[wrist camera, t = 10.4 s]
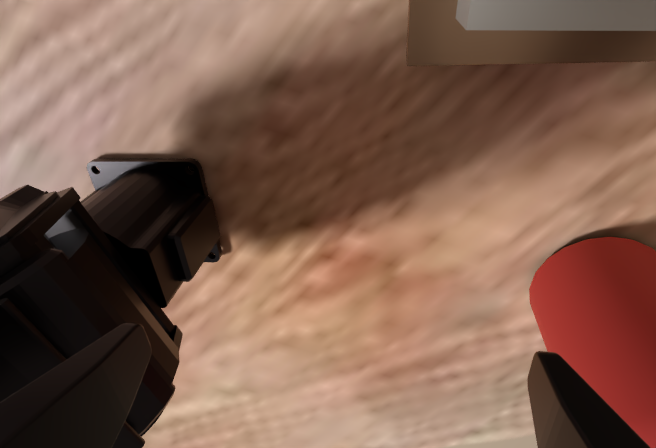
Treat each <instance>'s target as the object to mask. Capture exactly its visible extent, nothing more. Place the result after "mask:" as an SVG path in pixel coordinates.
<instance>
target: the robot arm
mask: <svg viewBox="0 0 656 448" xmlns="http://www.w3.org/2000/svg"><path fill="white" fill-rule="evenodd" d="M96 166H97V167H98V168H99V169H100V171H99V170H98V169H97V168H96ZM188 166H191V167H192V168H193V169H194V172H193V171H191V170H189V168H188ZM87 170H88V173H89V175H90V178H91V180H92V183H93V185H94V188H95V191H94V192H93V193H92V194H90V195H89V196H88V197H86V198H85V199H84V200H82V201H81V202H80V201H79V199H80V196H79V195H78V194H77V192H76V191H75V190H74V188H73V187H70V188H68V189H65V190H62V191H60V192H56V191H54V192H51V193H48V192H47V191H45V192H44V191H41V190H39V189H36V188H34V187H32V186H29V185H26V186H23V187H21V188H18V189H16V190H15V191H13V192H11V193H10V194H8V195H6V196H5V197H3V198H1V199H0V448H142V447H143V446H144V444H145V440H144V439H143V438H142V437H141V436H142V435H144V434H145V433H146V432H147V431H148V430H149V429H150V428H151V427H152V425H153V424H154V423H155V422H156V421H157V419H158V418H159V417H160V415H161V414H162V412H163V410H164V409H165V407H166V406H167V404H168V402H169V401H170V399H171V398H172V396H173V394H174V391H175V386H174V385H173V379H174V376H175V373H176V370H177V367H178V365H179V349H180V344H181V339H182V332H181V331H180V329H179V328H178V327H177V326H176V325H173V324H172V322H171V321H170V320H169V318H168V317H167V316H166V314H165V313H164V312H163V311H162V309H161V308H165V307H166V306H167V305H168V303H169V302H170V300H171V299H172V298H173V296H174V295H175V293H176V292H177V290H178V289H179V287H180V286H181V284H182V283H183V281H185V282H189V281H190V280H191V279H192V278H193V277H194V276H195V274H196V272H197V271H198V269H199V268H200V266H201V265H202V263H203V262H217V261H218V260H219V259H220V257H221V255H222V250H221V246H220V242H219V238H220V231H219V227H218V223H217V219H216V214H215V210H214V206H213V202H212V199H211V198H210V197H209V196H208V192H207V188H206V183H205V179H204V175H203V171H202V167H201V165H200V163H199V162H198V161H196V160H195V159H94V160H92V161H91V162H89V163H88V164H87ZM211 252H213V253H214V254H215V255H213V254H211ZM528 391H529V397H530V403H531V409H532V415H533V421H534V427H535V433H536V439H537V445H538V448H650V446H649V445H648V444H647V443H646V442H645V441H644V440H643V439H642V438H641V437H640V436H639V435H638V434H637V433H636V432H635V431H634V430H633V429H632V428H631V427H630V426H629V425H628V424H627V423H626V422H625V421H624V420H623V419H622V418H621V417H620V416H619V415H618V414H617V413H616V412H615V411H614V410H613V409H612V408H611V407H610V406H609V405H608V404H607V403H606V402H605V401H604V400H603V399H602V398H601V397H600V396H599V395H598V394H597V392H596V391H595V390H594V389H593V388H592V387H591V386H590V385H589V384H588V383H587V382H586V381H585V380H584V379H583V378H582V377H581V376H580V375H579V374H578V373H577V372H576V371H575V370H574V369H573V368H572V367H571V366H570V365H569V364H568V363H567V362H566V361H565V360H564V359H563V358H562V357H561V356H560V355H559V354H557V353H555V352H543V351H538V352H536V353H535V354H534V357H533V360H532V364H531V368H530V371H529V375H528Z"/></svg>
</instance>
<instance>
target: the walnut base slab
mask: <svg viewBox="0 0 656 448" xmlns="http://www.w3.org/2000/svg"><path fill="white" fill-rule="evenodd" d="M457 3H458V0H409V12H408V34H407V66H438V65H488V64H539V63H590V62H641V61H656V31H547V30H466V29H465V28H464V27H463V26H462V25H461V24H460V23H459V22H458V21H457V20H456V11H457Z"/></svg>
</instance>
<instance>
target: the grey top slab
mask: <svg viewBox="0 0 656 448" xmlns="http://www.w3.org/2000/svg"><path fill="white" fill-rule="evenodd" d="M456 20H457V21H458V22H459V23H460V24H461V25H462V26H463V27H464V28H465V29H466V30H547V31H656V0H458V3H457V11H456Z"/></svg>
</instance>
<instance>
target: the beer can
mask: <svg viewBox="0 0 656 448" xmlns="http://www.w3.org/2000/svg"><path fill="white" fill-rule="evenodd" d="M529 291H530V304H531V307H532V310H533V313H534V315H535V318H536V321H537V323H538V326H539V329H540V332H541V334H542V337H543V340H544V343H545V345H546V348H547V351H548V352H555V353H557V354H559V355H560V356H561V357H562V358H563V359H564V360H565V361H566V362H567V363H568V364H569V365H570V366H571V367H572V368H573V369H574V370H575V371H576V372H577V373H578V374H579V375H580V376H581V377H582V378H583V379H584V380H585V381H586V382H587V383H588V384H589V385H590V386H591V387H592V388H593V389H594V390H595V391H596V392H597V394H598V395H599V396H600V397H601V398H602V399H603V400H604V401H605V402H606V403H607V404H608V405H609V406H610V407H611V408H612V409H613V410H614V411H615V412H616V413H617V414H618V415H619V416H620V417H621V418H622V419H623V420H624V421H625V422H626V423H627V424H628V425H629V426H630V427H631V428H632V429H633V430H634V431H635V432H636V433H637V434H638V435H639V436H640V437H641V438H642V439H643V440H644V441H645V442H646V443H647V444H648V445H649V446H650V448H656V251H655V250H654V249H653V248H651V247H649V246H646V245H644V244H642V243H639V242H637V241H634V240H632V239H625V238H616V237H602V238H594V239H586V240H583V241H580V242H578V243H575V244H572V245H569V246H567V247H564V248H563V249H561V250H560V251H558V252H557V253H555V254H554V255H552V256H551V257H549V258H548V259H547V260H546V261H545V262H544V263H543V264H542V266H541V267H540V268H539V269H538V270H537V271H536V273H535V276H534V278H533V281H532V283H531V286H530V289H529Z"/></svg>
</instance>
